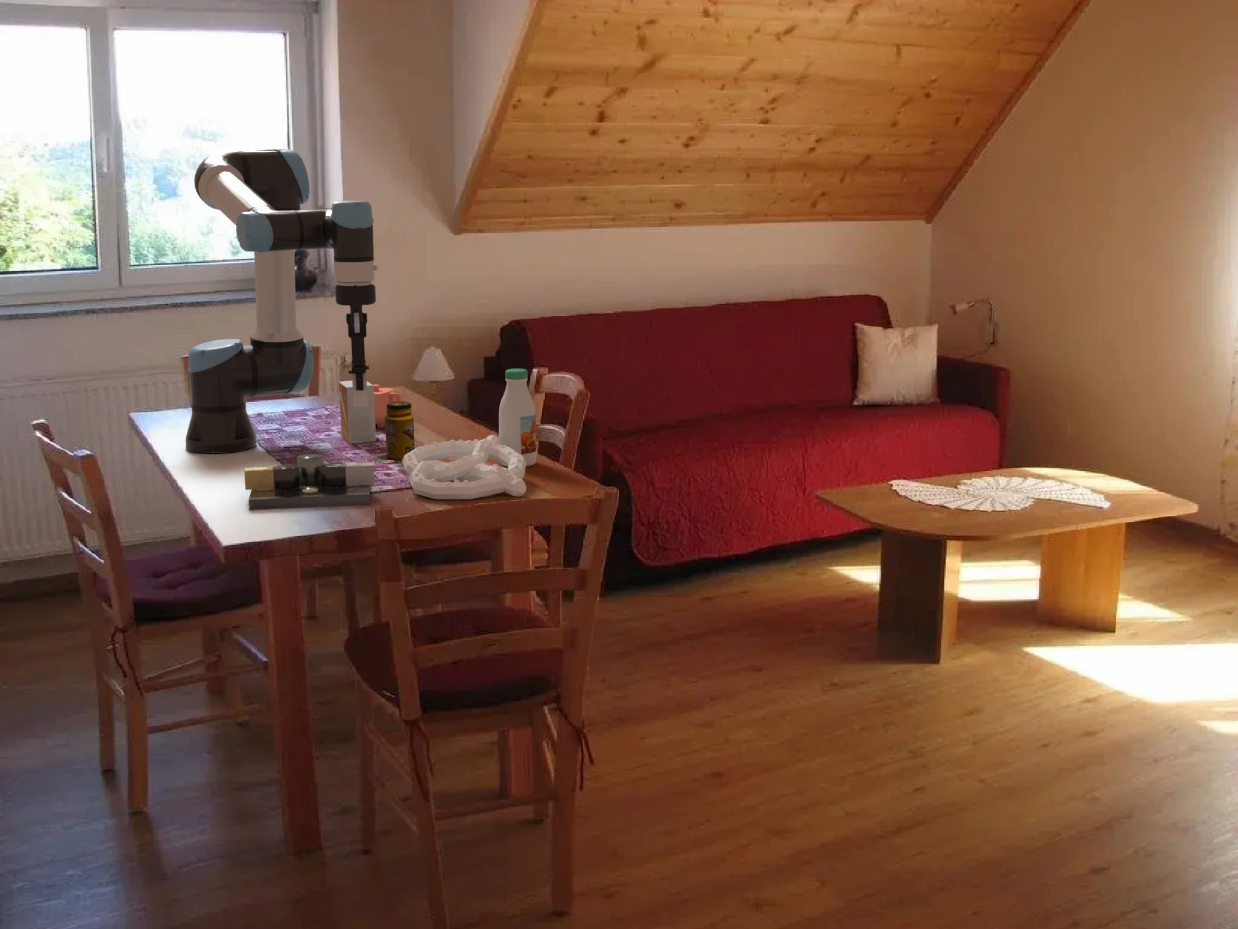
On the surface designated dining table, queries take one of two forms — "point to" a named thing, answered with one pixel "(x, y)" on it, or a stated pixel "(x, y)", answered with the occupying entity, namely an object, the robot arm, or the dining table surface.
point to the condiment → (398, 432)
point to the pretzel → (465, 469)
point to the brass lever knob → (272, 477)
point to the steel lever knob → (346, 474)
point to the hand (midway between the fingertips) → (360, 404)
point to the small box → (356, 415)
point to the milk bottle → (518, 416)
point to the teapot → (383, 403)
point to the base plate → (309, 490)
